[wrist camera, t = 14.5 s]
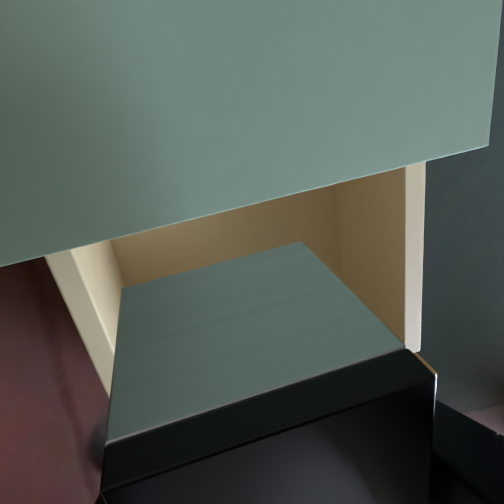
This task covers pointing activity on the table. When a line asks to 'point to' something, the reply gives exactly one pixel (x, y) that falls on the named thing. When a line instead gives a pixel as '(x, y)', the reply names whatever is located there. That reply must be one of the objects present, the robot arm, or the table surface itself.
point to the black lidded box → (263, 391)
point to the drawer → (260, 239)
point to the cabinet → (223, 105)
